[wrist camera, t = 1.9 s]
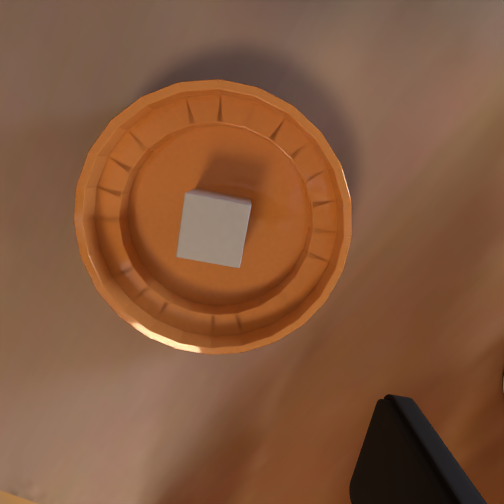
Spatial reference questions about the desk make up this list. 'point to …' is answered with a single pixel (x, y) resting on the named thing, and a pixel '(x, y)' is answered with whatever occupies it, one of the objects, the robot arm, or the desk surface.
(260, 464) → the desk surface
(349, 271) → the desk surface
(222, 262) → the block
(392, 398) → the robot arm
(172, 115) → the bowl
